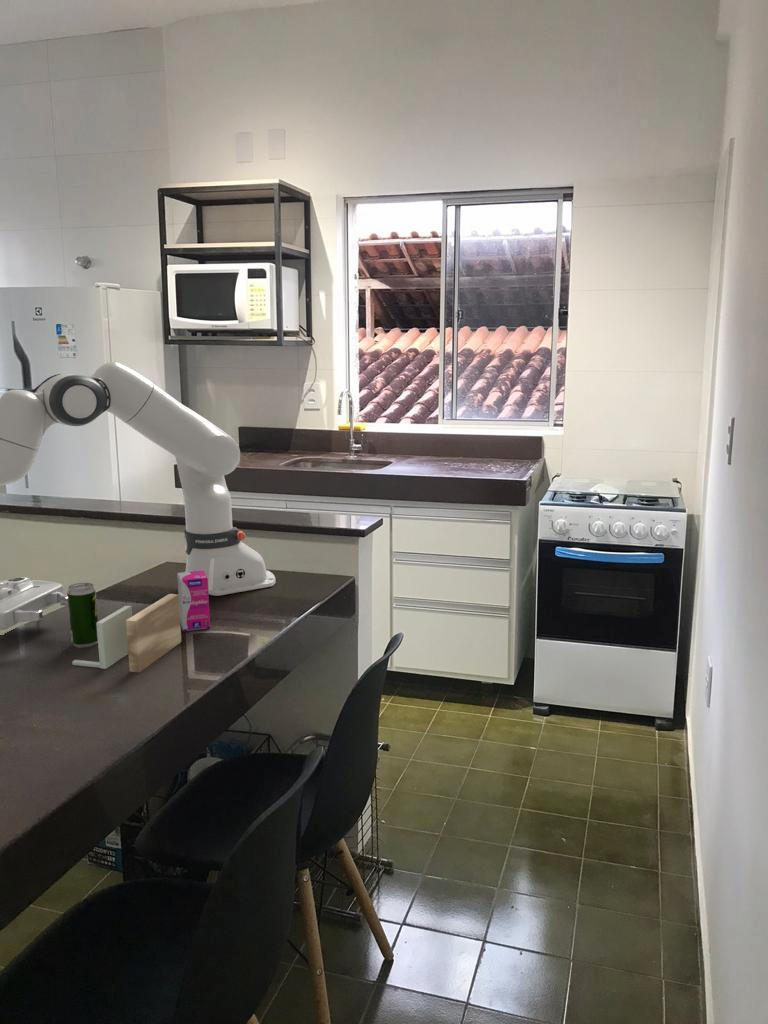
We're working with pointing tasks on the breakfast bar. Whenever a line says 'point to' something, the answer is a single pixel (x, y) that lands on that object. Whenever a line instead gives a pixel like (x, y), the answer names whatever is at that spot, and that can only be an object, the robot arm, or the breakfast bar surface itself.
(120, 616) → the white legged plate
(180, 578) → the supplement box
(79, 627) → the beer can
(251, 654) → the breakfast bar surface
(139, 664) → the oak board
